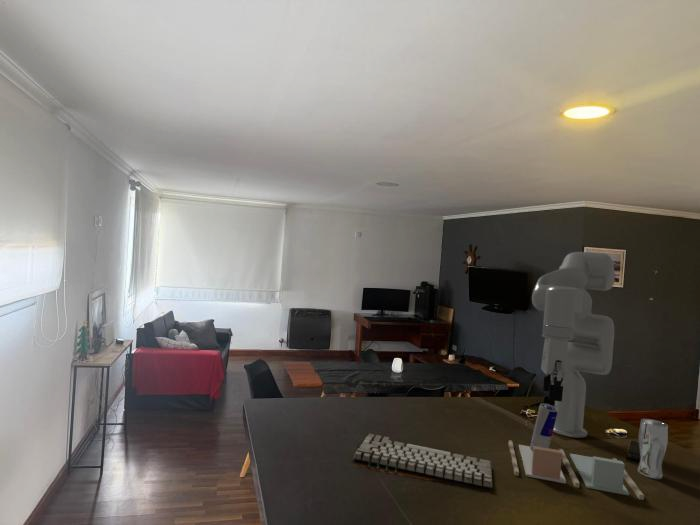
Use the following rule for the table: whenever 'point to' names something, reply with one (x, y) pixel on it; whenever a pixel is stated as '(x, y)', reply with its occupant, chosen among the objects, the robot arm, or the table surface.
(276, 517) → the table surface
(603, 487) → the strip
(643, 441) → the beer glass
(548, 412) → the beverage can
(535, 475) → the strip
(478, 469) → the mechanical keyboard
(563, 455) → the lane frame
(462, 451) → the table surface
